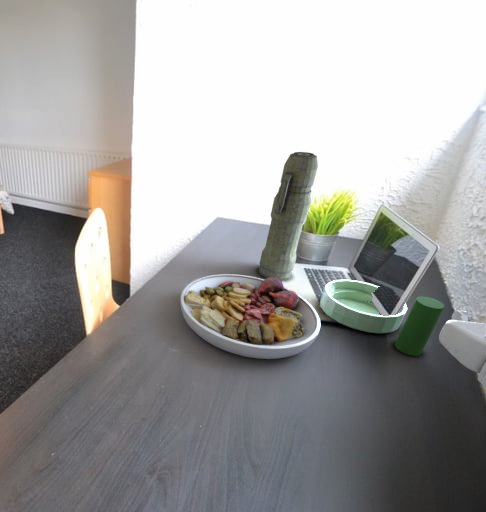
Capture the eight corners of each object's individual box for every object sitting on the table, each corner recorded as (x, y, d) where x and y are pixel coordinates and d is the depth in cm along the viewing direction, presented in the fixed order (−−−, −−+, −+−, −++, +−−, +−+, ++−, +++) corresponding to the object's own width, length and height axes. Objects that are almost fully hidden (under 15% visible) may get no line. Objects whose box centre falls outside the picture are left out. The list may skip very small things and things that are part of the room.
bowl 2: (378, 299, 96) (385, 282, 94) (414, 339, 82) (422, 320, 80) (310, 293, 99) (315, 277, 97) (333, 330, 85) (339, 312, 83)
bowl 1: (275, 390, 69) (285, 358, 66) (153, 319, 90) (156, 291, 87) (336, 326, 86) (346, 298, 83) (221, 278, 107) (225, 254, 104)
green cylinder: (413, 343, 81) (436, 297, 75) (425, 357, 77) (450, 309, 71) (390, 340, 81) (411, 295, 76) (401, 354, 78) (424, 307, 72)
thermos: (299, 272, 109) (332, 153, 93) (279, 285, 103) (311, 159, 87) (270, 262, 116) (297, 148, 100) (249, 273, 109) (275, 154, 93)
